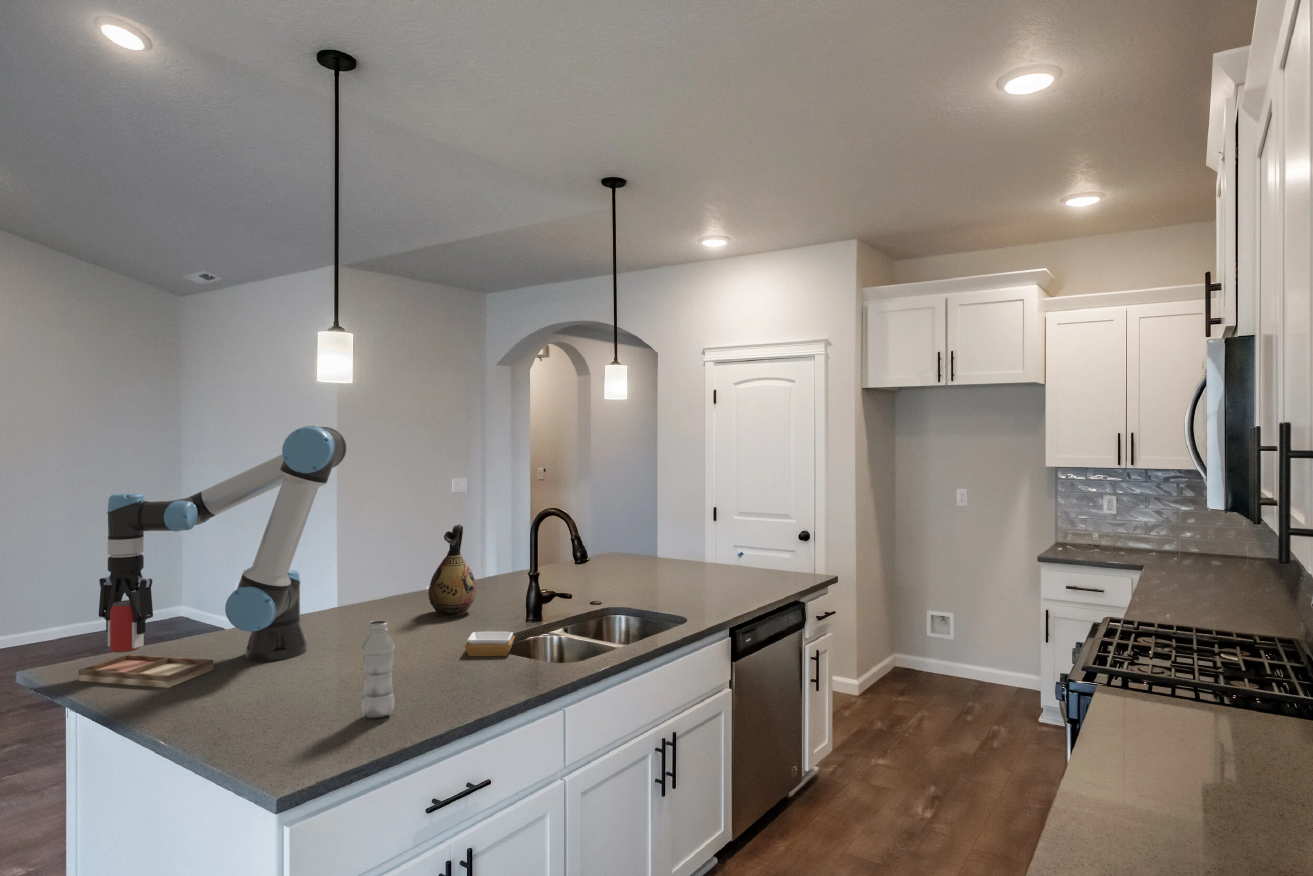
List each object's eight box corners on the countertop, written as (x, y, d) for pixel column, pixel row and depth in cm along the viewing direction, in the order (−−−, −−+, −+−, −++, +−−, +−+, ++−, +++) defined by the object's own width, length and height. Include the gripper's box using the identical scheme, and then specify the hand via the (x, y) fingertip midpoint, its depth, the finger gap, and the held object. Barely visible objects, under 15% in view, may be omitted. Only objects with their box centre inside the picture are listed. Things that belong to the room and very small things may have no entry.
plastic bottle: (366, 711, 168) (366, 619, 168) (398, 710, 169) (398, 618, 169) (357, 722, 162) (357, 626, 162) (390, 721, 162) (390, 625, 162)
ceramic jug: (469, 621, 251) (469, 528, 251) (422, 621, 251) (422, 528, 251) (482, 609, 268) (482, 522, 268) (437, 609, 268) (437, 522, 268)
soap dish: (464, 659, 208) (464, 640, 208) (470, 649, 218) (470, 631, 218) (510, 658, 209) (510, 639, 209) (515, 648, 219) (515, 630, 219)
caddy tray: (213, 670, 198) (213, 659, 198) (168, 687, 185) (168, 676, 185) (128, 664, 204) (128, 654, 204) (78, 681, 190) (78, 670, 190)
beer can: (125, 654, 192) (125, 605, 191) (103, 652, 193) (103, 604, 193) (147, 647, 198) (147, 600, 198) (126, 645, 199) (126, 599, 199)
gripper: (170, 554, 197) (170, 644, 197) (107, 551, 201) (106, 640, 201) (145, 558, 190) (145, 652, 190) (80, 555, 194) (79, 647, 194)
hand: (125, 645), depth 195 cm, fingers closed on beer can, 7 cm apart
